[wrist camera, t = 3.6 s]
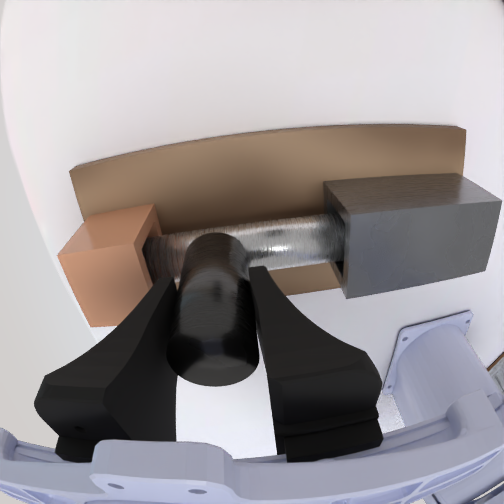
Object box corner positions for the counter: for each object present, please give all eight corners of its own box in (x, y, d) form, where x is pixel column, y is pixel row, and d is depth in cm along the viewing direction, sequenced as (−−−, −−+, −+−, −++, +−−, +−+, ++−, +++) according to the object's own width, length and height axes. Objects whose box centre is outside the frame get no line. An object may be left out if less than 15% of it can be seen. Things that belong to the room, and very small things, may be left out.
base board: (439, 261, 21) (446, 268, 20) (123, 304, 21) (120, 313, 20) (456, 126, 16) (466, 129, 15) (76, 166, 16) (68, 171, 15)
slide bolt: (379, 243, 18) (449, 342, 11) (152, 273, 18) (118, 390, 11) (383, 195, 16) (470, 281, 9) (137, 225, 16) (84, 334, 9)
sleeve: (448, 235, 19) (485, 271, 15) (324, 252, 19) (346, 299, 15) (457, 173, 17) (502, 200, 13) (323, 181, 17) (350, 214, 13)
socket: (172, 271, 19) (160, 322, 15) (112, 279, 19) (90, 327, 15) (154, 203, 17) (133, 243, 13) (89, 215, 17) (57, 255, 13)
